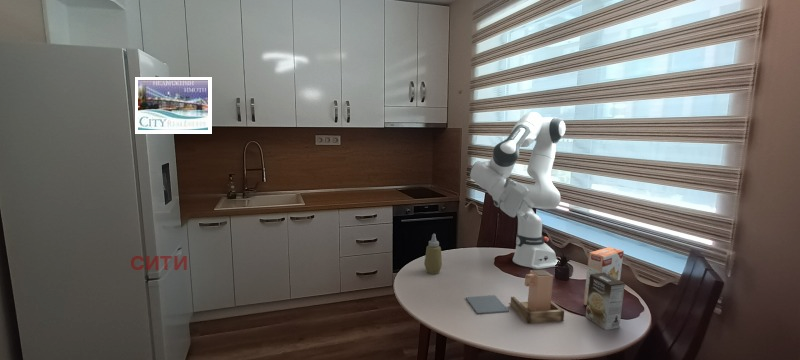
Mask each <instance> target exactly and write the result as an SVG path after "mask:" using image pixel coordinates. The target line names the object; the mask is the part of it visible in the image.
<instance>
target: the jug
mask: <svg viewBox="0 0 800 360" xmlns="http://www.w3.org/2000/svg"><path fill="white" fill-rule="evenodd" d="M553 280H554V275H553V274H551V273H550V272H548V271H547V270H546V269H532V270H529V273H526V274H525V276H524V286H525V287H528V295H527V296H528V297H527V302H528V307H527V308H528V309H529V310H530V311H531V312H534V311H547V310H550V308H551V301H552V295H553V283H554V282H553Z"/></svg>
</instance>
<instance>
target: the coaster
mask: <svg viewBox="0 0 800 360" xmlns="http://www.w3.org/2000/svg"><path fill="white" fill-rule="evenodd" d="M465 299H466V301H467V303H468V304H469V306H471V308H472V309H473V311H474V312H475V313H476V314H477V315H485V314H486V315H487V314H499V313H509V312H510V310H509V309H508V308H507V307H506V305H505V303H503V302H502V301H501V300H500V299H499V298H498V297H497V295H495V294H493V295H479V296H477V295H476V296H465Z"/></svg>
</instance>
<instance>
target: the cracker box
mask: <svg viewBox="0 0 800 360" xmlns="http://www.w3.org/2000/svg"><path fill="white" fill-rule="evenodd" d="M623 258H624V250H621V249H618V248H614V247H611V246H608V247H604V248H601V249H598V250H594V251H590V252H589V253H588V259H587V261H588V262H587V268H586V269H587V270H586V280H585V285H584V287H585V288H584V295H583V296H584V297H583V305H584V306H586V305H587V299H588V290H589V280H590V274H595V273H603V272H604V273H606V274H608V275H610V276H612V277H614V278H616V279H618V280H620V281H621V274H622V273H621V272H622V267H623V266H622V265H623Z"/></svg>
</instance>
